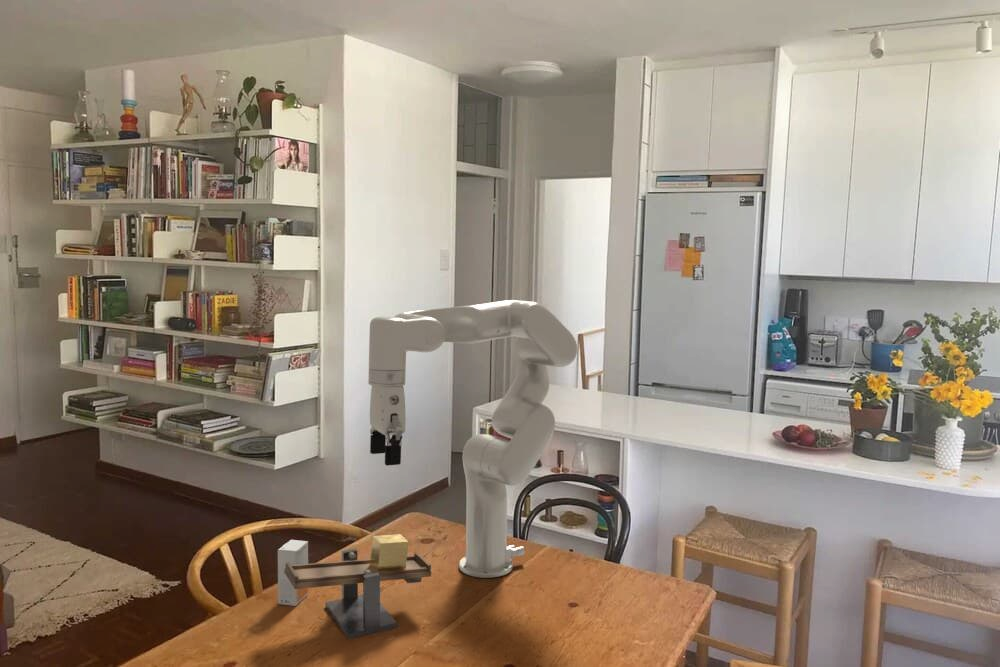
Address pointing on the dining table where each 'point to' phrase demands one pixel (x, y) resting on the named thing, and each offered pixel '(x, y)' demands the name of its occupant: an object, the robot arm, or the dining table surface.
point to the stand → (360, 607)
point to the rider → (389, 552)
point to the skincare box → (287, 593)
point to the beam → (352, 572)
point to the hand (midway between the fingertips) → (385, 458)
